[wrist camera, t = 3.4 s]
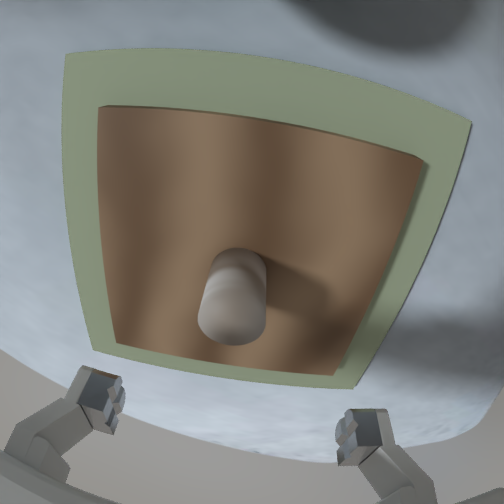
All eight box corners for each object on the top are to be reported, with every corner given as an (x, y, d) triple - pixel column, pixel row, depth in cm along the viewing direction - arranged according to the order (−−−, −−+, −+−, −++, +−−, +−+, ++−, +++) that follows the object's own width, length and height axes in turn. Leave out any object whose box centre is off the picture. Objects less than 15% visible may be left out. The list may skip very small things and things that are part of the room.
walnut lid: (120, 333, 22) (97, 385, 18) (107, 104, 14) (50, 121, 9) (331, 365, 22) (339, 421, 18) (415, 155, 14) (465, 188, 10)
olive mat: (94, 346, 24) (93, 350, 23) (69, 53, 12) (65, 53, 12) (352, 385, 24) (352, 389, 24) (467, 120, 13) (471, 121, 13)
